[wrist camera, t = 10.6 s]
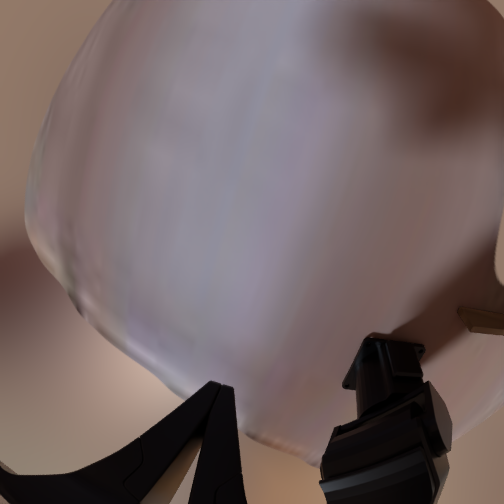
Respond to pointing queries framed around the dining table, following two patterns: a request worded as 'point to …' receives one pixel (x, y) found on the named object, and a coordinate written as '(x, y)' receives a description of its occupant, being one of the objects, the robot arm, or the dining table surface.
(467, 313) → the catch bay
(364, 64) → the dining table surface
